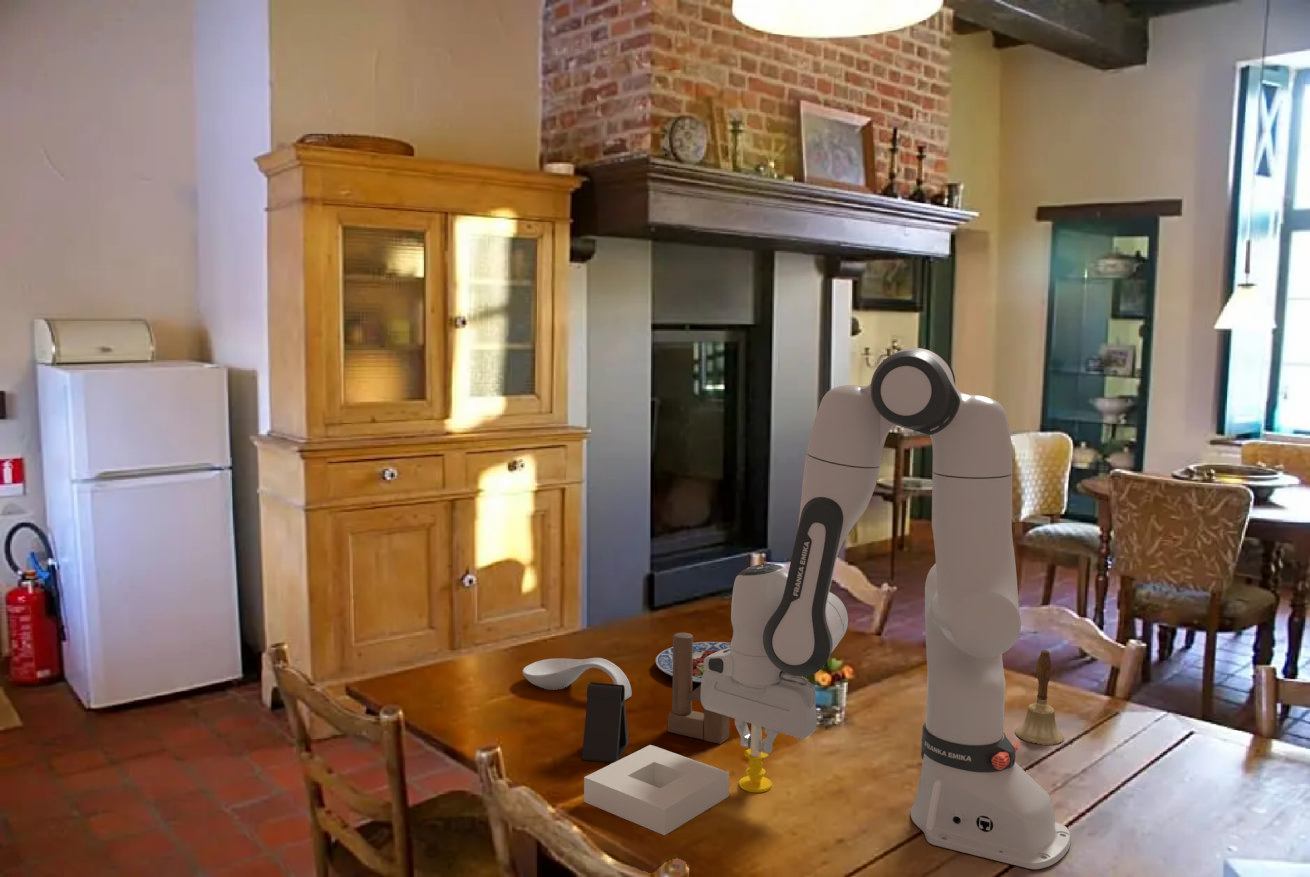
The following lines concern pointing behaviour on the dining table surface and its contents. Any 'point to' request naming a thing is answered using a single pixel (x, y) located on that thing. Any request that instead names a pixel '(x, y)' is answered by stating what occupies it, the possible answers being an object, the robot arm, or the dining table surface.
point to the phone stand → (605, 723)
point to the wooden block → (682, 715)
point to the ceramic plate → (699, 653)
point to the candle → (755, 765)
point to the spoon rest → (571, 672)
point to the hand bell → (1041, 710)
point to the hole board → (656, 788)
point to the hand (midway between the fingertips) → (756, 749)
